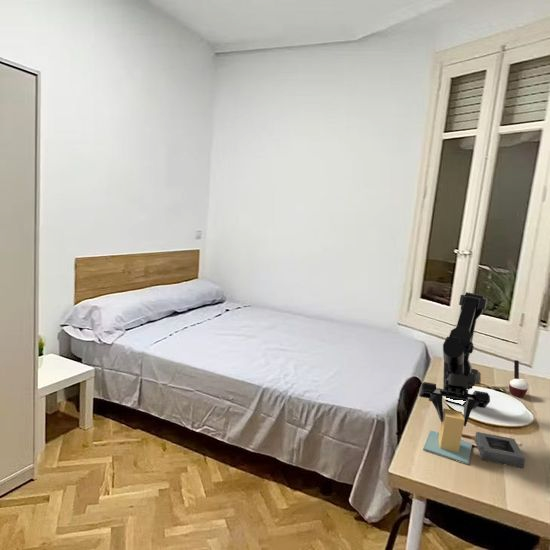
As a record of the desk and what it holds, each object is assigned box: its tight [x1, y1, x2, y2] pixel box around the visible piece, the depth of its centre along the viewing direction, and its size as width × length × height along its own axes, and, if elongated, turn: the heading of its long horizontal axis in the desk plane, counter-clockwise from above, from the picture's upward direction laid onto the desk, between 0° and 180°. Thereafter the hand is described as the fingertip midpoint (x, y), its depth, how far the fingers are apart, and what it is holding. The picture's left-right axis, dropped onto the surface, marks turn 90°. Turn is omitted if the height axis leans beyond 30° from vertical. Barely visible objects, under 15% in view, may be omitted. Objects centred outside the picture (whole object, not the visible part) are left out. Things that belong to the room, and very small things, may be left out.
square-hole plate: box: [474, 431, 526, 469], centre depth 129 cm, size 10×10×3 cm
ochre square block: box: [438, 408, 465, 452], centre depth 129 cm, size 5×5×10 cm
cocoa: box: [508, 360, 530, 398], centre depth 172 cm, size 10×6×12 cm, turn 156°
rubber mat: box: [422, 429, 473, 465], centre depth 131 cm, size 12×12×1 cm
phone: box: [471, 368, 480, 385], centre depth 188 cm, size 8×1×15 cm
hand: (453, 423), depth 128 cm, fingers open, 6 cm apart
